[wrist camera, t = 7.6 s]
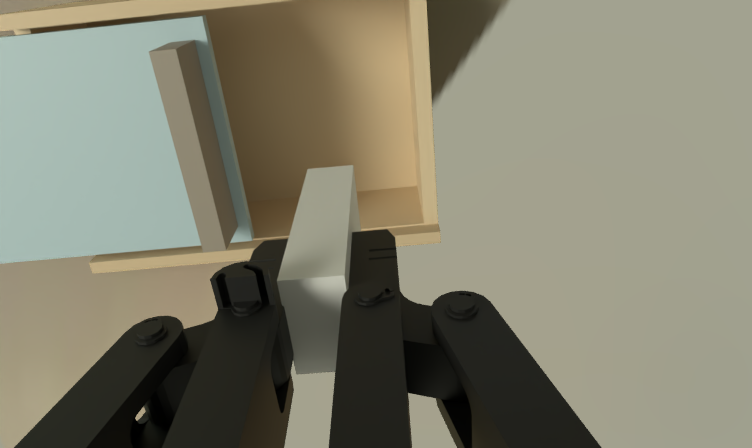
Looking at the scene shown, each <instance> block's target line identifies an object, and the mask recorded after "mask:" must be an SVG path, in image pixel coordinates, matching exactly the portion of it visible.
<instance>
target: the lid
mask: <svg viewBox="0 0 752 448" xmlns="http://www.w3.org/2000/svg"><path fill="white" fill-rule="evenodd" d="M253 238H254V232H253V227H252V223H251V218H250V214H249V209H248V205H247V200H246V196H245V191H244V187H243V182H242V178H241V173H240V169H239V164H238V160H237V155H236V151H235V146H234V141H233V137H232V132H231V128H230V123H229V119H228V114H227V110H226V105H225V101H224V96H223V92H222V87H221V83H220V78H219V74H218V69H217V65H216V60H215V56H214V51H213V47H212V42H211V38H210V33H209V29H208V24H207V19H206V15H201V16H191V17H182V18H172V19H163V20H154V21H144V22H135V23H125V24H116V25H106V26H97V27H88V28H78V29H69V30H59V31H50V32H40V33H31V34H22V35H12V36H3V37H0V263H12V262H23V261H34V260H45V259H56V258H67V257H78V256H89V255H100V254H112V253H123V252H134V251H145V250H156V249H167V248H178V247H189V246H200V245H201V246H202V250H203V252H214V251H225V250H227V248H228V246H229V244H230V243H234V242H245V241H252V240H253Z"/></svg>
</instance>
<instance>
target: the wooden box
mask: <svg viewBox="0 0 752 448" xmlns="http://www.w3.org/2000/svg"><path fill="white" fill-rule="evenodd" d="M201 15H206V19H207V24H208V29H209V33H210V38H211V42H212V47H213V51H214V56H215V60H216V65H217V69H218V74H219V78H220V83H221V87H222V92H223V96H224V101H225V105H226V110H227V114H228V119H229V123H230V128H231V132H232V137H233V141H234V146H235V151H236V155H237V160H238V164H239V169H240V173H241V178H242V182H243V187H244V191H245V196H246V200H247V205H248V209H249V214H250V218H251V223H252V227H253V232H254V238H253V240H252V241H245V242H234V243H230V244H229V246H228V248H227V250H225V251H214V252H203V250H202V246H201V245H200V246H189V247H178V248H167V249H156V250H145V251H134V252H123V253H112V254H100V255H96V256H95V257H94V258H93V259H92V260H91V261H90V262H89V265H90V267H91V270H92V272H93V273H104V272H116V271H127V270H138V269H150V268H161V267H172V266H183V265H195V264H206V263H217V262H228V261H240V260H250V258H251V255H252V253H253V250H254V249H256V248H257V247H258V246H259V245H260V244H261V243H262V242H263V241H267V240H279V239H288V238H289V235H290V231H291V228H292V224H293V220H294V217H295V213H296V209H297V206H298V202H299V199H300V195H301V191H302V188H303V184H304V180H305V177H306V173H307V170H308V169H313V168H325V167H336V166H348V165H353V166H354V175H355V183H356V192H357V201H358V209H359V218H360V226H361V231H371V230H383V229H387V230H388V231H389V232H390V233H391V234H392V235H393V236H394V237H395V241H396V246H397V247H398V246H408V245H420V244H431V243H440V242H441V241H440V240H441V239H440V229H439V225H438V210H437V192H436V173H435V154H434V135H433V117H432V97H431V78H430V60H429V41H428V22H427V3H426V0H91V1H82V2H73V3H66V4H60V5H54V6H48V7H42V8H36V9H30V10H24V11H18V12H12V13H6V14H0V31H8V30H14V33H15V35H22V34H31V33H40V32H50V31H59V30H69V29H78V28H88V27H97V26H106V25H116V24H125V23H135V22H144V21H154V20H163V19H172V18H182V17H191V16H201Z"/></svg>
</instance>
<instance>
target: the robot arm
mask: <svg viewBox="0 0 752 448" xmlns="http://www.w3.org/2000/svg"><path fill="white" fill-rule="evenodd" d="M210 281H211V284H212V288H213V292H214V295H215V299H216V303H217V306H218V312H217V314H216V316H215V319H214V320H212V321H210V322H207V323H204V324H201V325H197V326H194V327H190V328H187V329H184V328H183V325H182V322H181V321H180V320H178V319H177V318H175V317H171V316H157V317H152V318H149V319H146V320H144V321H142V322H140V323H138V324H136V325H134V326H133V327H131V328H130V329H129V330H128V331H126V332H125V333H124V334H123V335H122V336H121V337H120V338H119V340H118V341H117V342H116V343H115V344H114V345H113V346H112V347H111V348H110V349H109V350H108V351H107V352H106V353H105V354H104V355H103V356H102V357H101V358H100V359H99V360H98V361H97V362H96V363H95V364H94V365H93V366H92V367H91V369H90V370H89V371H88V372H87V373H86V374H85V375H84V376H83V377H82V378H81V379H80V380H79V381H78V382H77V383H76V384H75V385H74V386H73V387H72V388H71V389H70V390H69V391H68V392H67V393H66V394H65V395H64V396H63V398H62V399H61V400H60V401H59V402H58V403H57V404H56V405H55V406H54V407H53V408H52V409H51V410H50V411H49V412H48V413H47V414H46V415H45V416H44V417H43V418H42V419H41V420H40V421H39V422H38V423H37V424H36V425H35V427H34V428H33V429H32V430H31V431H30V432H29V433H28V434H27V435H26V436H25V437H24V438H23V439H22V440H21V441H20V442H19V443H18V444H17V445H16V446H15V447H14V448H284V445H285V439H286V433H287V427H288V421H289V414H290V409H291V403H292V397H293V391H294V389H293V381H292V377H291V367H292V361H294V366H295V370H296V374H309V373H322V372H335V383H334V395H333V406H332V418H331V429H330V440H329V448H412V441H411V428H410V415H409V399H408V393H412V394H417V395H422V396H427V397H433V398H436V401H437V406H438V408H439V410H440V412H441V414H442V417H443V419H444V421H445V423H446V425H447V427H448V429H449V431H450V434H451V436H452V438H453V440H454V442H455V444H456V446H457V448H601V446H600V445H599V444H598V443H597V441H596V440H595V439H594V437H593V436H592V435H591V434H590V432H589V431H588V429H587V428H586V427H585V425H584V424H583V423H582V422H581V420H580V419H579V418H578V416H577V415H576V414H575V412H574V411H573V410H572V408H571V407H570V406H569V404H568V403H567V402H566V400H565V399H564V398H563V397H562V395H561V394H560V393H559V391H558V390H557V389H556V387H555V386H554V385H553V383H552V382H551V381H550V380H549V378H548V377H547V376H546V374H545V373H544V372H543V370H542V369H541V368H540V366H539V365H538V364H537V363H536V361H535V360H534V359H533V357H532V356H531V354H530V353H529V352H528V351H527V349H526V348H525V347H524V345H523V344H522V343H521V341H520V340H519V339H518V337H517V336H516V335H515V333H514V332H513V331H512V330H511V328H510V327H509V326H508V324H507V323H506V322H505V320H504V319H503V318H502V317H501V315H500V314H499V312H498V311H497V310H496V309H495V307H494V306H493V305H492V304H491V302H490V301H489V300H488V299H486V298H485V297H484V296H482V295H479V294H477V293H474V292H468V291H455V292H449V293H446V294H444V295H441V296H440V297H438V298H437V299H436V300H435V301H434V302H433V305H432V306H428V305H422V304H417V303H414V302H412V301H410V300H408V299H407V298H405V297H404V296H403V295H402V293H401V292H400V288H399V276H398V265H397V253H396V241H395V237H394V236H393V235H392V234H391V233H390V232H389V231H388V230H387V229H383V230H371V231H361V226H360V218H359V209H358V201H357V192H356V183H355V175H354V166H353V165H348V166H336V167H325V168H313V169H308V170H307V173H306V177H305V180H304V184H303V188H302V191H301V195H300V199H299V202H298V206H297V209H296V213H295V217H294V220H293V224H292V228H291V231H290V235H289V238H288V239H279V240H267V241H263V242H262V243H261V244H260V245H259V246H258V247H257V248H256V249H254V250H253V253H252V255H251V258H250V261H249V262H248V261H245V262H240V263H234V264H231V265H229V266H226V267H224V268H222V269H221V270H219V271H218V272H216V273H215V274H214V275H213V276H212V278H211V279H210ZM143 406H144V408H145V411H146V412H145V413H144V415H143V416H142V417H141V418H140V419H139V420H138V421H136V419H135V417H136V415H137V414H138V412H139V411H140V410H141V409H142V407H143Z"/></svg>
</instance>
